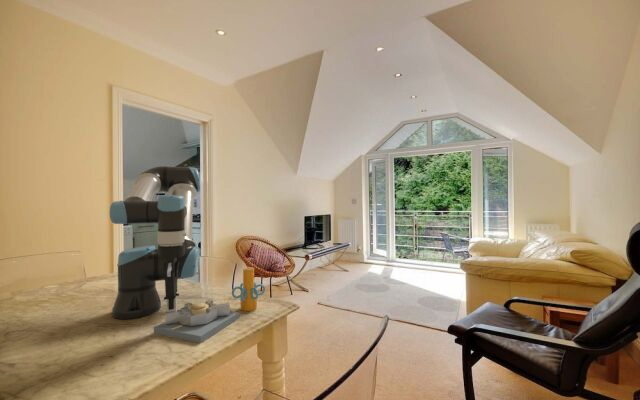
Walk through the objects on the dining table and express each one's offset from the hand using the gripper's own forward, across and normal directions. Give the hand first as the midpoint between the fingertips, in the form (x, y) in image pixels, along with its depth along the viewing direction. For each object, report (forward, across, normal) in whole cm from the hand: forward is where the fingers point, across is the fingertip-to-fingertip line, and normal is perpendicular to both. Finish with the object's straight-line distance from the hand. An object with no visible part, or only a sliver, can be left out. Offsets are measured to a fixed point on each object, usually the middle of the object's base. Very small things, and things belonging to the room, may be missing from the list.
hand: (171, 318), depth 92 cm
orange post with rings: (+4, +8, -25) cm, 27 cm away
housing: (+3, -1, -8) cm, 9 cm away
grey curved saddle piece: (+1, -1, -8) cm, 8 cm away
